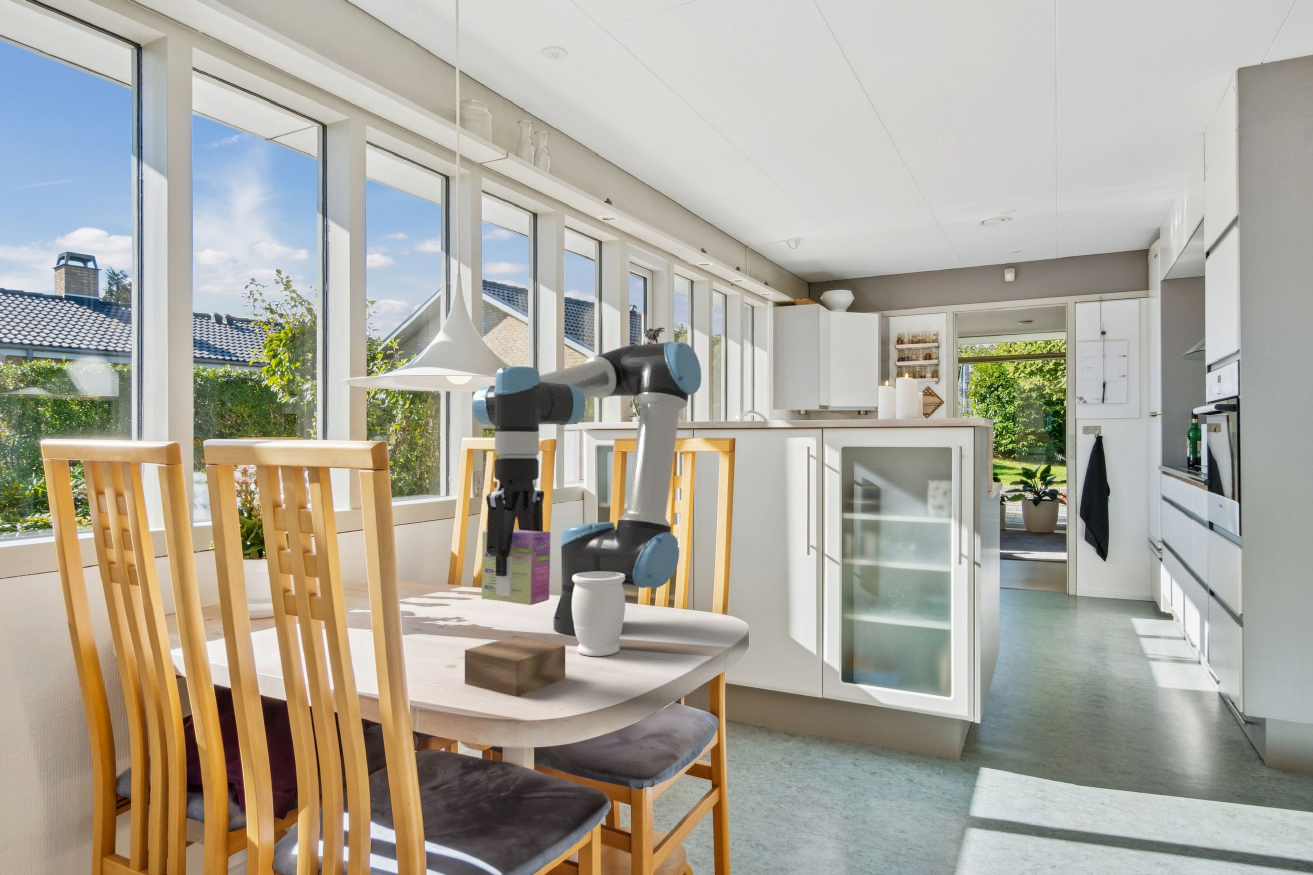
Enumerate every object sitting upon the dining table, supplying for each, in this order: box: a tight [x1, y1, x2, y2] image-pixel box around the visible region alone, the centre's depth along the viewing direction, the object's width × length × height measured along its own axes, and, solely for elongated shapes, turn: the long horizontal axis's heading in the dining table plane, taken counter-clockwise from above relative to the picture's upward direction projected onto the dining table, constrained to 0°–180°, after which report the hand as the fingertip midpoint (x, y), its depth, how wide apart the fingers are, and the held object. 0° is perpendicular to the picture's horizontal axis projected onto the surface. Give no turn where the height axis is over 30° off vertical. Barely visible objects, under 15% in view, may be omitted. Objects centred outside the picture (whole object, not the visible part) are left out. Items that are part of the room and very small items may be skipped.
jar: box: [572, 571, 626, 657], centre depth 153 cm, size 11×10×15 cm
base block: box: [464, 635, 566, 698], centre depth 133 cm, size 12×12×6 cm
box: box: [481, 529, 551, 606], centre depth 133 cm, size 10×6×12 cm, turn 64°
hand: (515, 591), depth 133 cm, fingers closed on box, 6 cm apart
